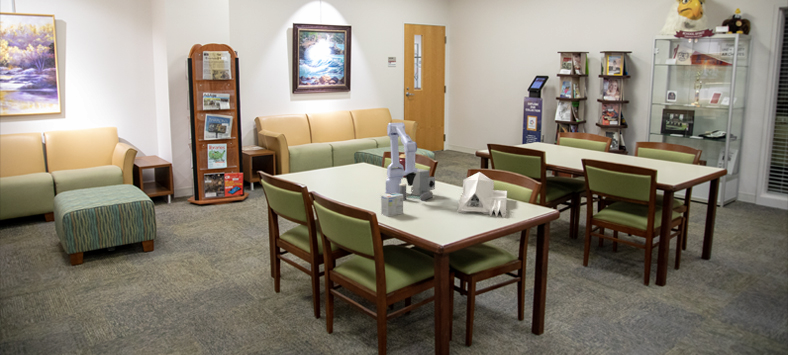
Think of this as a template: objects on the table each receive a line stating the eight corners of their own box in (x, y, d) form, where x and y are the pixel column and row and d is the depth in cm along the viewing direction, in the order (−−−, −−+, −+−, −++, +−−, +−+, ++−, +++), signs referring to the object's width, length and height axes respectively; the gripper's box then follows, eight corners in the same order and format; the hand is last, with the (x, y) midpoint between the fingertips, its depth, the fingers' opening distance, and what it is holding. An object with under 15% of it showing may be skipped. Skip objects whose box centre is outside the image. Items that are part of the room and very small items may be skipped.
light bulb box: (396, 211, 315) (396, 192, 312) (403, 213, 309) (403, 194, 307) (380, 214, 308) (380, 194, 306) (388, 217, 303) (388, 197, 301)
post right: (424, 193, 337) (431, 189, 344) (418, 195, 339) (425, 191, 347) (427, 199, 337) (434, 196, 344) (421, 201, 339) (428, 198, 347)
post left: (398, 199, 340) (398, 184, 338) (400, 198, 344) (401, 183, 342) (404, 200, 339) (404, 185, 337) (407, 198, 342) (407, 183, 341)
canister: (395, 174, 416) (395, 150, 412) (412, 173, 419) (412, 150, 415) (399, 178, 403) (400, 153, 400) (417, 177, 406) (417, 152, 403)
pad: (407, 197, 346) (407, 197, 346) (409, 195, 351) (409, 195, 351) (420, 198, 343) (420, 198, 343) (423, 197, 347) (423, 196, 347)
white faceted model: (506, 218, 303) (507, 187, 299) (456, 215, 308) (456, 185, 305) (507, 200, 343) (508, 172, 339) (463, 197, 348) (463, 170, 345)
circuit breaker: (429, 197, 346) (430, 173, 343) (411, 194, 355) (411, 170, 352) (436, 195, 351) (437, 171, 348) (418, 192, 360) (418, 168, 357)
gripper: (409, 165, 324) (409, 188, 327) (422, 161, 336) (422, 184, 339) (399, 164, 328) (399, 187, 330) (412, 160, 340) (412, 182, 342)
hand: (410, 185), depth 335 cm, fingers closed
